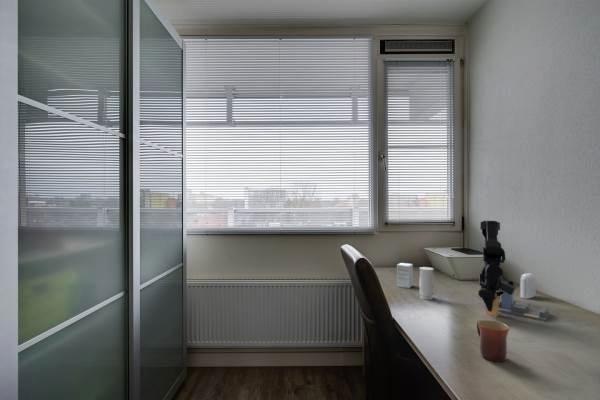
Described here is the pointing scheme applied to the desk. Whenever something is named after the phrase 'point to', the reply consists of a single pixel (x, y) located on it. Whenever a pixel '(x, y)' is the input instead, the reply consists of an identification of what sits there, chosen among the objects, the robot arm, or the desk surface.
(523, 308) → the grey slotted base
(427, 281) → the candle
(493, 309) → the tan rectangular box
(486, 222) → the robot arm
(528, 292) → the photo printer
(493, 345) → the mug
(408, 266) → the supplement box
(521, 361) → the desk surface
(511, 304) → the blue plug
